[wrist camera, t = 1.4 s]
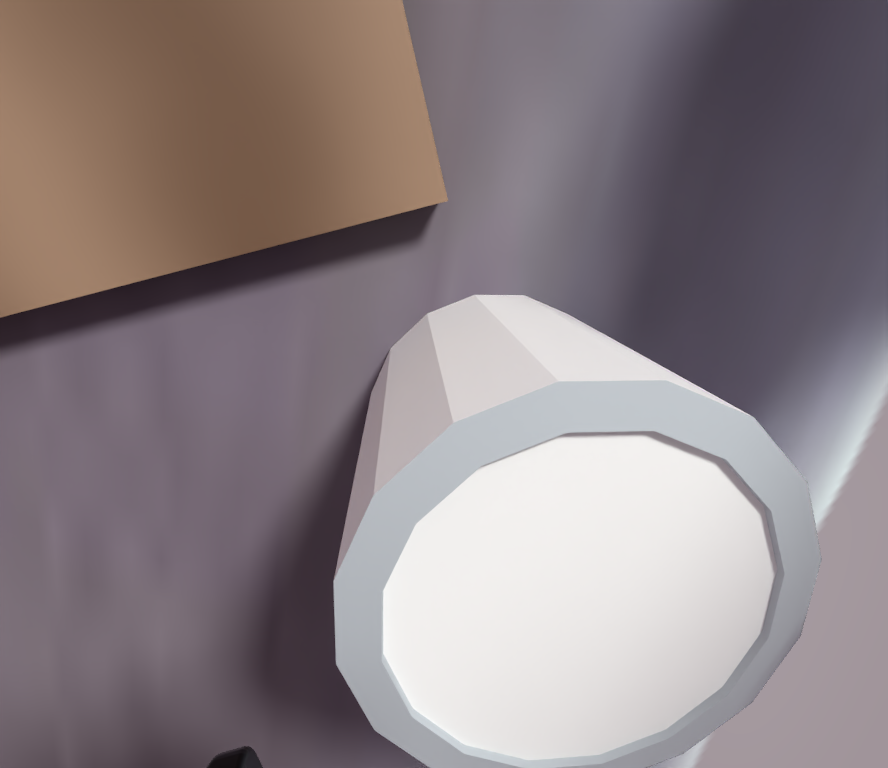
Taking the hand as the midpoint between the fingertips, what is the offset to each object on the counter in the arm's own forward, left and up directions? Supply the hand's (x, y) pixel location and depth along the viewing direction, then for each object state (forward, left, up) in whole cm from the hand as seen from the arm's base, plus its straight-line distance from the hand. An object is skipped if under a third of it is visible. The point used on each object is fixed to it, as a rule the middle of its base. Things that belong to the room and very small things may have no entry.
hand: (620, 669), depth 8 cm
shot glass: (0, 0, -8) cm, 8 cm away
